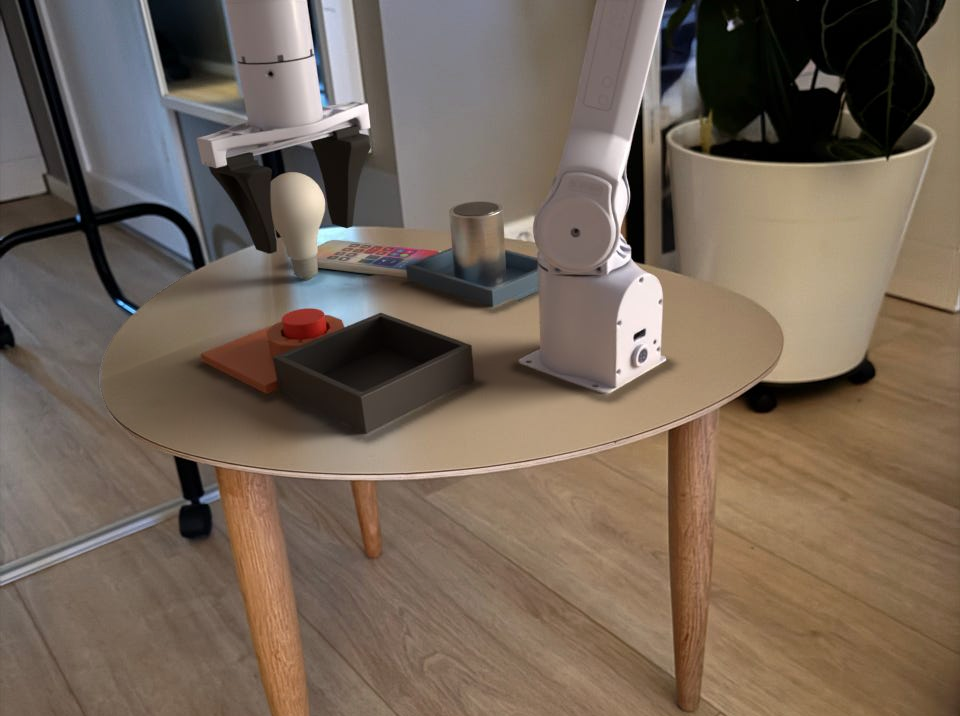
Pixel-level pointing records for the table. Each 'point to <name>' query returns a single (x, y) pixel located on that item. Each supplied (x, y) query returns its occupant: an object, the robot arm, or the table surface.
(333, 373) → the dark grey open box
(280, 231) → the lightbulb
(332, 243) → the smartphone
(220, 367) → the control
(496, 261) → the steel cup
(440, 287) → the tray
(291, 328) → the button
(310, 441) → the table surface
